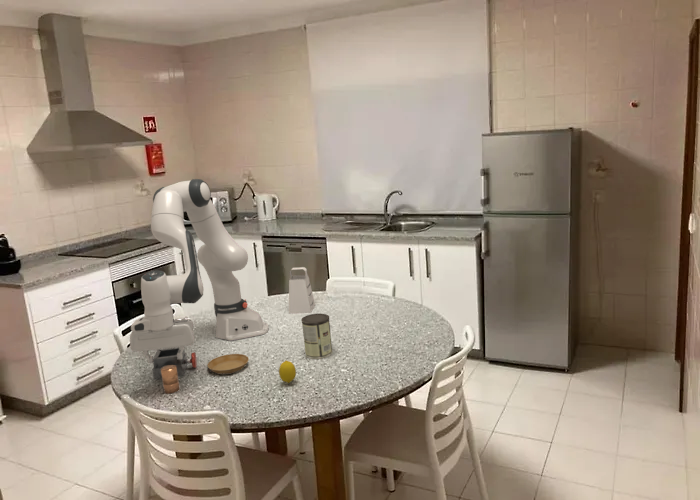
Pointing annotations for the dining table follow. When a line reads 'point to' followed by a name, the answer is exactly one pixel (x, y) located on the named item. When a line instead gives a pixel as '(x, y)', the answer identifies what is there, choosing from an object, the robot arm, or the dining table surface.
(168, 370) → the cylinder
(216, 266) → the robot arm
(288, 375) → the lemon
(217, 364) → the plant saucer
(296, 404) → the dining table surface
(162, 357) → the valve body
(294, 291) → the grater
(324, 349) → the coffee can
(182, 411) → the dining table surface
